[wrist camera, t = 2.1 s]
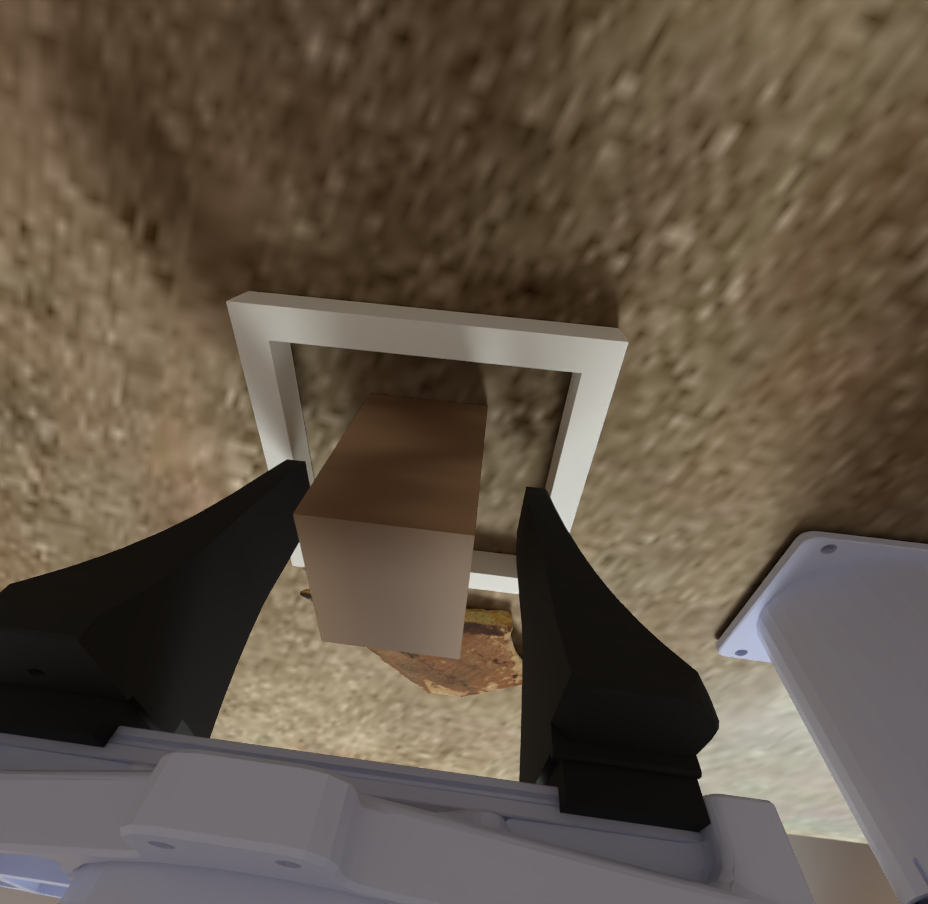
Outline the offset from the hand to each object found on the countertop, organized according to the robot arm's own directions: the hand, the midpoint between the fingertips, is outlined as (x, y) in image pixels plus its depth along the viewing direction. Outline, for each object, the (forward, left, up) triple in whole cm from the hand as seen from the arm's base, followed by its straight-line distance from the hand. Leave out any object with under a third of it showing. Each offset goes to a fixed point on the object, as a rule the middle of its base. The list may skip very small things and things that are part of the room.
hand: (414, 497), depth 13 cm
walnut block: (0, 0, -2) cm, 2 cm away
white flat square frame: (0, 0, -2) cm, 2 cm away
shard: (0, +12, -3) cm, 12 cm away
